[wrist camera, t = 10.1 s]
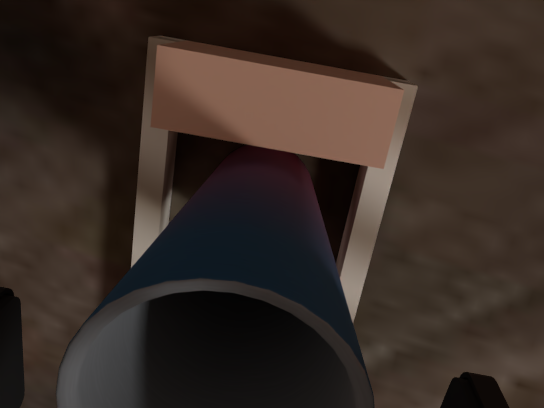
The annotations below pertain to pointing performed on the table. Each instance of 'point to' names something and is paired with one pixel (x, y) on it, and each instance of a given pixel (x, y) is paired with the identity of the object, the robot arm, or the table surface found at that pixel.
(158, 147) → the track
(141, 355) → the cup
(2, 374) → the robot arm
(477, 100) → the table surface
